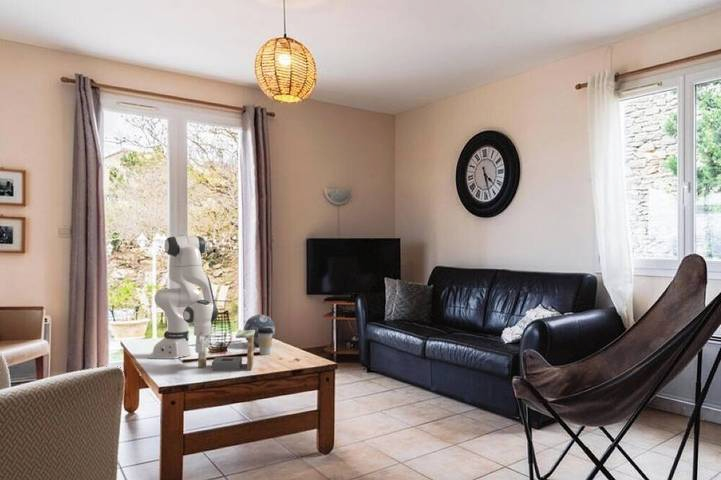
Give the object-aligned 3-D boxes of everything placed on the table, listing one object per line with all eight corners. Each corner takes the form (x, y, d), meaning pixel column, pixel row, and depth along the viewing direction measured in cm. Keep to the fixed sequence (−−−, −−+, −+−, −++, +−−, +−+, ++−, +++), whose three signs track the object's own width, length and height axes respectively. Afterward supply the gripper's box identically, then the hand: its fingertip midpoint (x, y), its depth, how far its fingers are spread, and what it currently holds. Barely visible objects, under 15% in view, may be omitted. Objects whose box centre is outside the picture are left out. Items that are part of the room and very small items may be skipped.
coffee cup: (253, 355, 288) (254, 329, 288) (261, 351, 297) (262, 327, 297) (268, 356, 285) (268, 330, 285) (275, 353, 294) (276, 328, 294)
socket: (211, 370, 252) (211, 362, 252) (215, 364, 264) (215, 357, 264) (239, 369, 254) (239, 362, 254) (241, 364, 266) (242, 356, 266)
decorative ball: (281, 345, 318) (282, 314, 318) (258, 350, 301) (259, 317, 301) (259, 341, 329) (260, 311, 329) (236, 346, 312) (237, 314, 313)
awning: (235, 371, 251) (235, 335, 252) (238, 363, 267) (239, 330, 267) (251, 370, 253) (252, 335, 253) (254, 363, 268) (254, 330, 269)
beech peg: (197, 368, 256) (197, 345, 256) (198, 366, 260) (199, 343, 260) (205, 368, 256) (205, 345, 256) (206, 366, 260) (207, 343, 260)
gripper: (205, 334, 248) (204, 362, 248) (211, 328, 268) (211, 353, 268) (192, 335, 247) (192, 362, 247) (200, 328, 268) (199, 353, 267)
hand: (202, 357), depth 258 cm, fingers closed on beech peg, 4 cm apart
